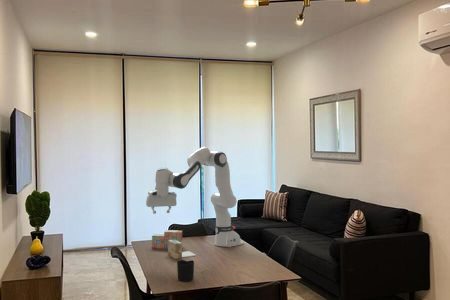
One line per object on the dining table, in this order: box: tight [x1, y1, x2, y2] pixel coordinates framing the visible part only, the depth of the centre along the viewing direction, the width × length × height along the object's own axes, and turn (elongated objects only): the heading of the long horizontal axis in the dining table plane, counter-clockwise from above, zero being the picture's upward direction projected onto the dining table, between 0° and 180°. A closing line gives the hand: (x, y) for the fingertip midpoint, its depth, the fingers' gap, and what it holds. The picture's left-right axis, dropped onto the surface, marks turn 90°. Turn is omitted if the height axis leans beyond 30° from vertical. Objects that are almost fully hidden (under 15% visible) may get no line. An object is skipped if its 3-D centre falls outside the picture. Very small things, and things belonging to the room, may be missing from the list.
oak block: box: [167, 240, 183, 260], centre depth 292 cm, size 5×12×10 cm, turn 29°
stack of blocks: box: [151, 229, 183, 249], centre depth 317 cm, size 21×6×12 cm, turn 85°
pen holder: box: [176, 259, 195, 283], centre depth 241 cm, size 9×9×10 cm
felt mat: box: [181, 250, 197, 259], centre depth 296 cm, size 10×12×1 cm
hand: (161, 213), depth 288 cm, fingers open, 8 cm apart
